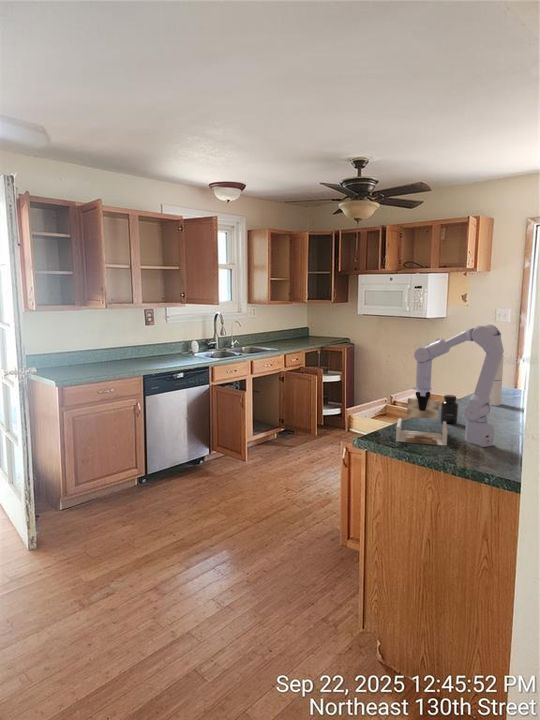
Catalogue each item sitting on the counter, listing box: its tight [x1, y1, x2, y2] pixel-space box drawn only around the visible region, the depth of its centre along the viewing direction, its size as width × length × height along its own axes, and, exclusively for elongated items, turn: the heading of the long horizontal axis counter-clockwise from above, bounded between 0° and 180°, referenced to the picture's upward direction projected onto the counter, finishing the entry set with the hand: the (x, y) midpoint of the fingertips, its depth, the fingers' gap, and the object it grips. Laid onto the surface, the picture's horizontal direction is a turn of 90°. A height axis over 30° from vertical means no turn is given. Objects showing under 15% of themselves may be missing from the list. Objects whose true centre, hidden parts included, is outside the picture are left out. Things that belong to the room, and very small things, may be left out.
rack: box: [395, 418, 448, 446], centre depth 183 cm, size 18×14×6 cm
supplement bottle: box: [439, 394, 459, 426], centre depth 205 cm, size 7×7×12 cm
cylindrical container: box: [489, 354, 504, 407], centre depth 238 cm, size 7×7×25 cm
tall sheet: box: [406, 397, 440, 420], centre depth 194 cm, size 12×2×8 cm, turn 72°
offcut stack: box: [405, 434, 437, 445], centre depth 179 cm, size 11×3×2 cm, turn 72°
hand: (422, 410), depth 194 cm, fingers closed on tall sheet, 2 cm apart
